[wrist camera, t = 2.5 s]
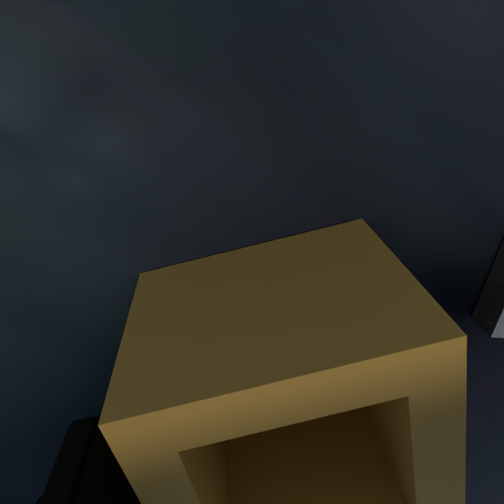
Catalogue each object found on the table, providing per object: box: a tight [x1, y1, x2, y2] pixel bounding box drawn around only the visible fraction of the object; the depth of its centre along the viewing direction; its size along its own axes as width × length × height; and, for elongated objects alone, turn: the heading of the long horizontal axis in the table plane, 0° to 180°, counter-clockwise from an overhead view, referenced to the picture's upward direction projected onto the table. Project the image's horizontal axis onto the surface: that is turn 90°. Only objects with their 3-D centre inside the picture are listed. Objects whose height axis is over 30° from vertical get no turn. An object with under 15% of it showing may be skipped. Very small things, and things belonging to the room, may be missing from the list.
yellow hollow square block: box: [98, 219, 467, 504], centre depth 11 cm, size 10×6×5 cm, turn 13°
